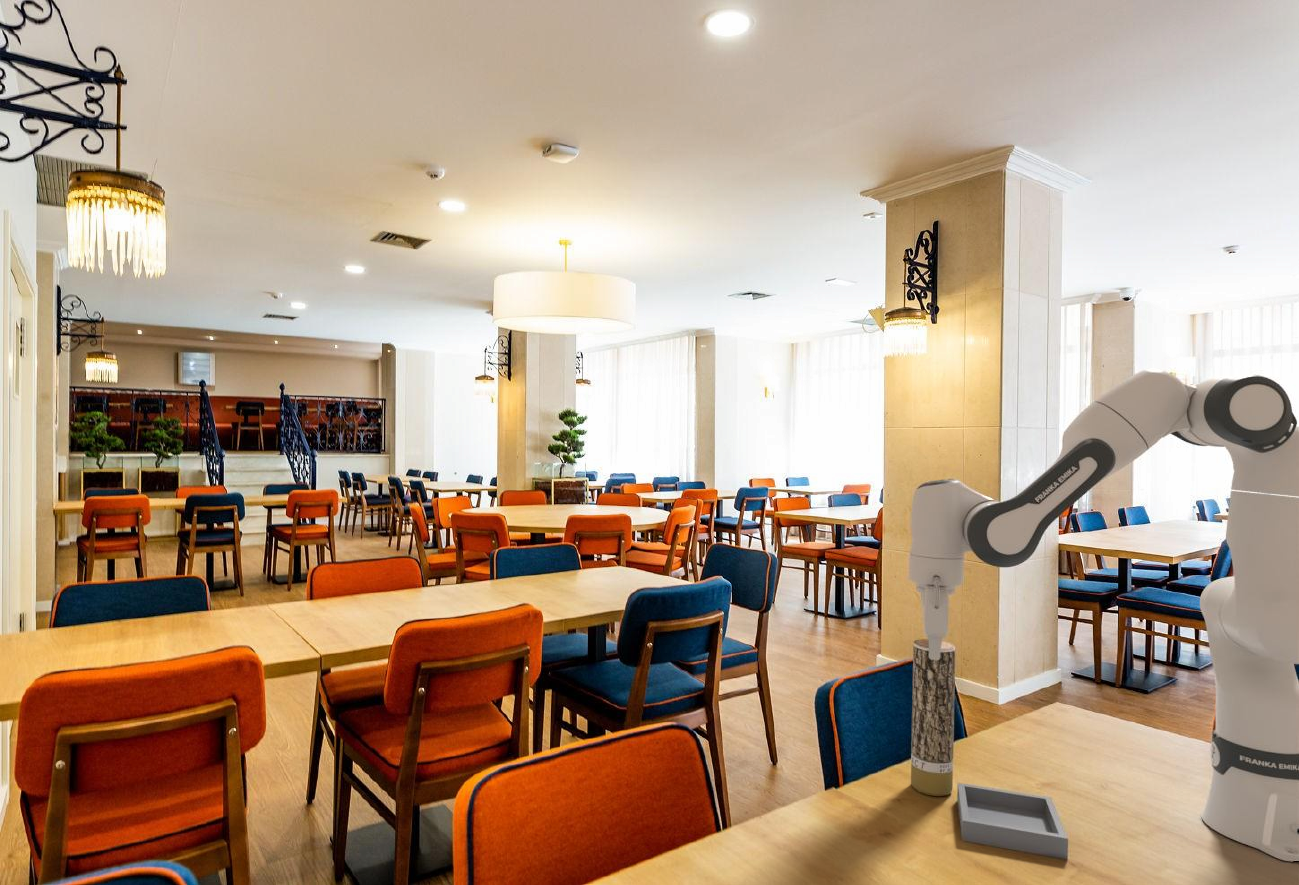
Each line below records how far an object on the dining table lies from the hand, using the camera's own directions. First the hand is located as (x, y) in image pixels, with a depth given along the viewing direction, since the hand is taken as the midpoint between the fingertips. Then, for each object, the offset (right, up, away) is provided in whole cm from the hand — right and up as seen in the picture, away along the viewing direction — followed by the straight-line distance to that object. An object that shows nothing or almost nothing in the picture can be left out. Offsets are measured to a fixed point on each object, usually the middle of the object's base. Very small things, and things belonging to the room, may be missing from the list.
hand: (933, 652), depth 130 cm
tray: (+7, -24, -13) cm, 28 cm away
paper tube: (0, -24, 0) cm, 24 cm away
